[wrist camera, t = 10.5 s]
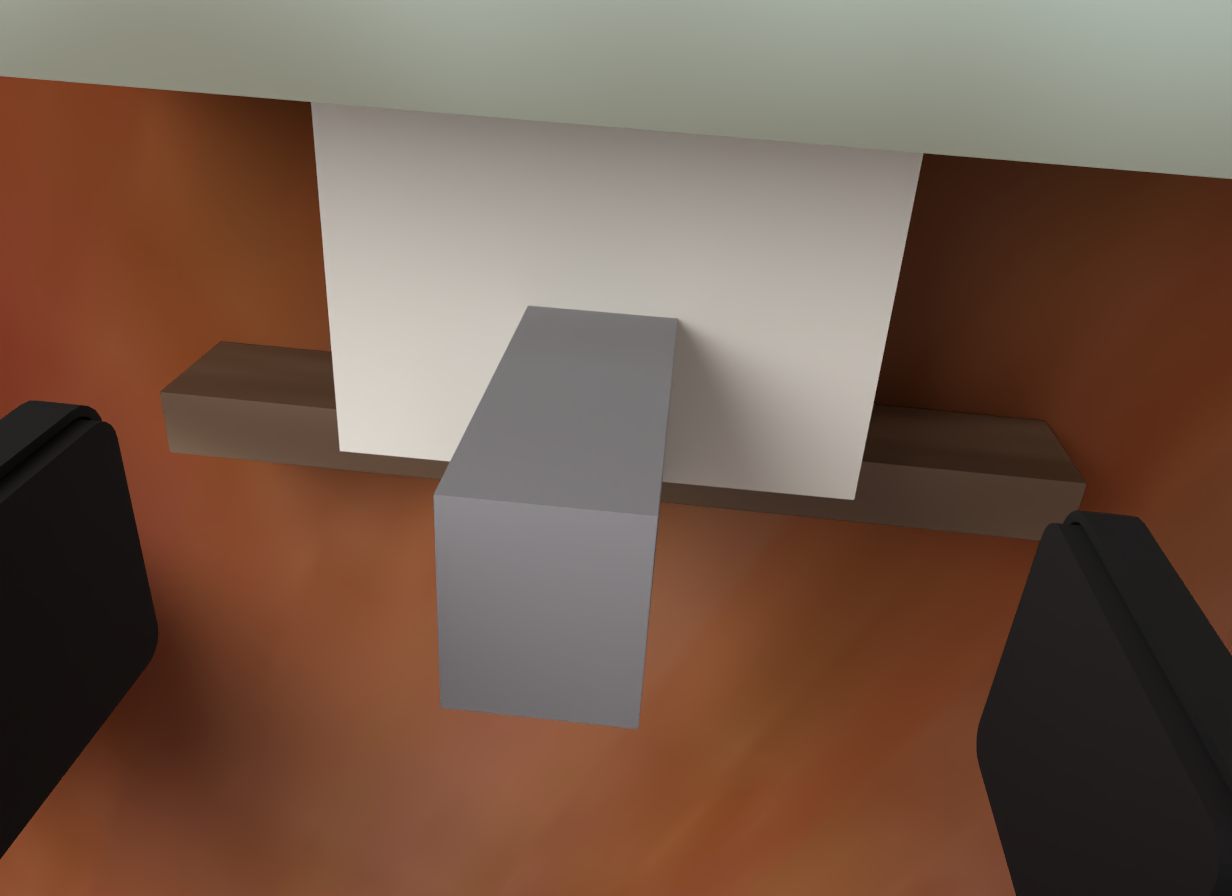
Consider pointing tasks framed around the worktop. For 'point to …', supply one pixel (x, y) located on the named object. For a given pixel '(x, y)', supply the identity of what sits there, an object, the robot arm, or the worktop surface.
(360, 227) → the white block gray post
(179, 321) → the worktop surface
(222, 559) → the worktop surface
